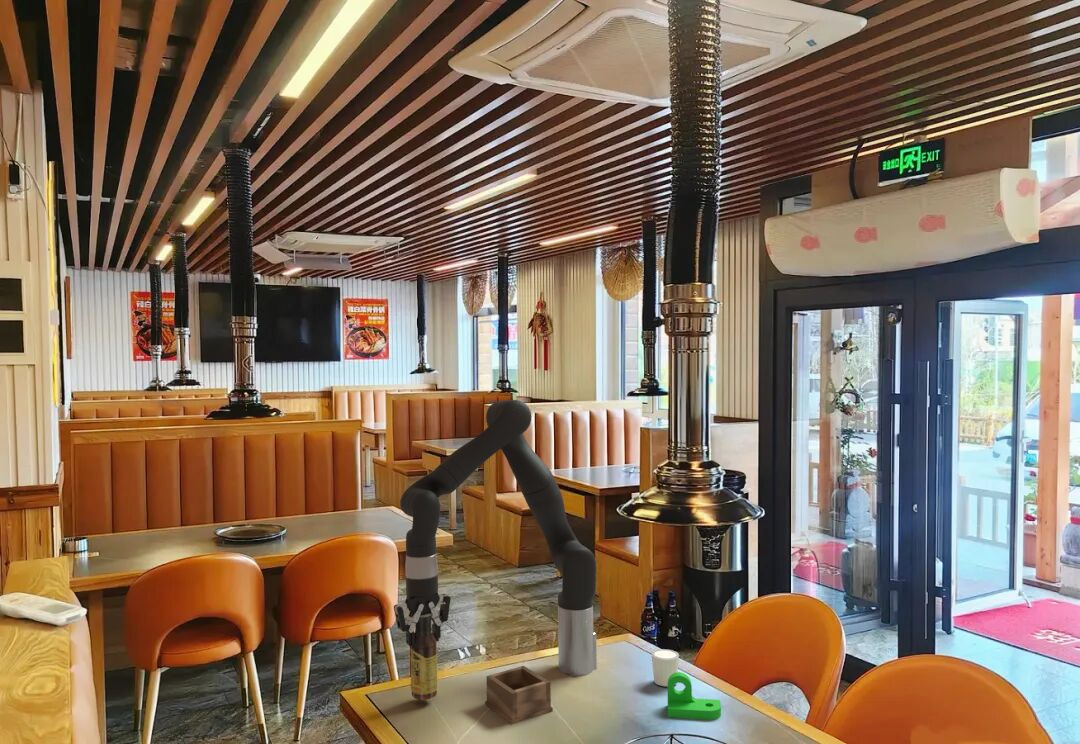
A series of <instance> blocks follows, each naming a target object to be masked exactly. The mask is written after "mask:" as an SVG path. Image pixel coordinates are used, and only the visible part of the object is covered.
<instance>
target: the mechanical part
mask: <svg viewBox="0 0 1080 744" xmlns="http://www.w3.org/2000/svg"><path fill="white" fill-rule="evenodd" d="M678 683H679V684H683V685H684V688H683V689H682V690H677V689H676V688H675V685H676V684H678ZM692 691H693V689H692V681H691V679H690V677H689V676H688V675H687V674H685V673H684V672H680V671H678V672H676V673H674V674H672V675H671V676H670V677H669V679H668V686H667V718H680V719H681V718H682V719H694V720H695V719H696V720H709V721H710V720H711V721H712V720H717V719H719V718H721V717H722V705H721V704H722V703H721V700H720V699H714V698H712V699H711V698H710V699H708V698H695V697H693V693H692Z"/></svg>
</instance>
